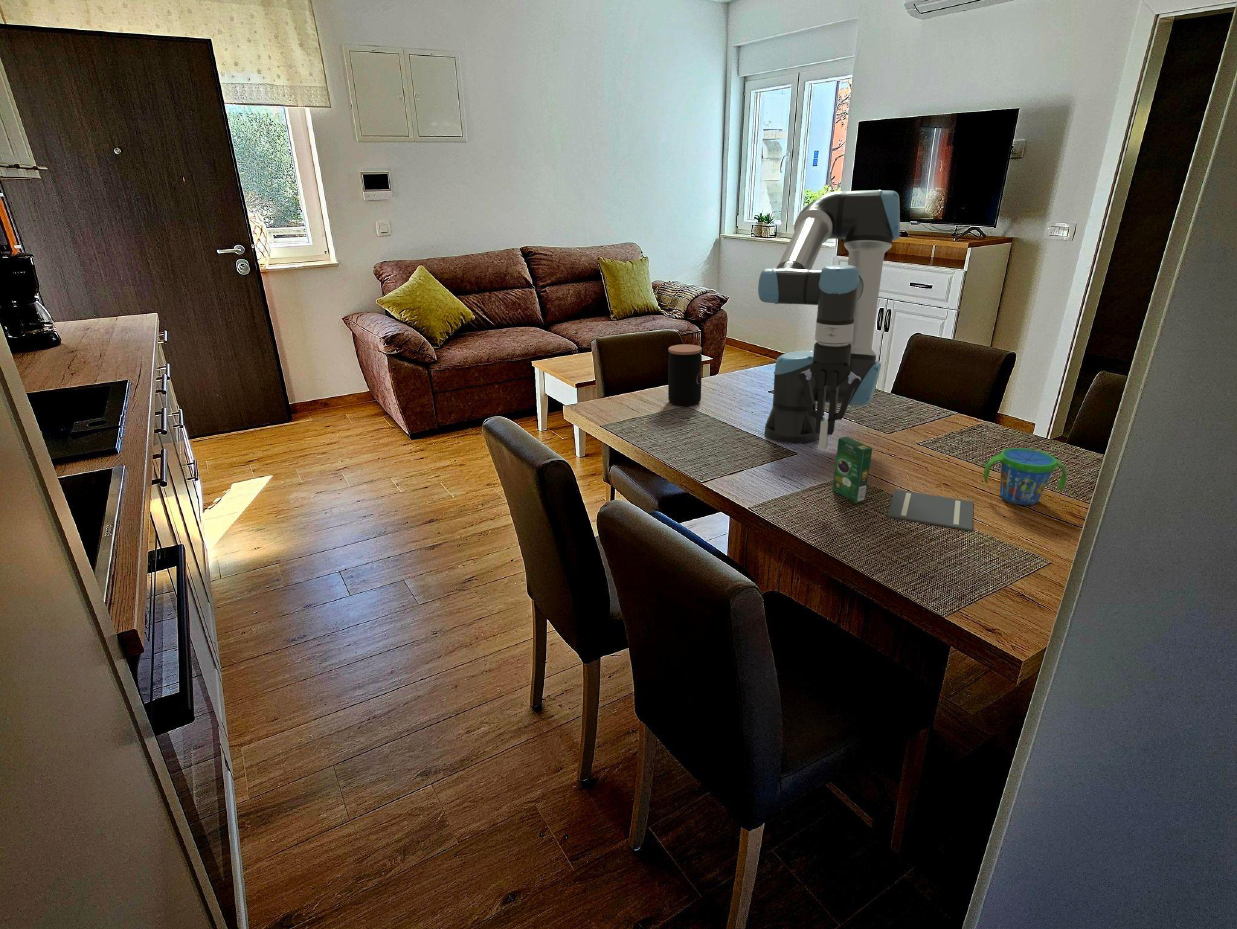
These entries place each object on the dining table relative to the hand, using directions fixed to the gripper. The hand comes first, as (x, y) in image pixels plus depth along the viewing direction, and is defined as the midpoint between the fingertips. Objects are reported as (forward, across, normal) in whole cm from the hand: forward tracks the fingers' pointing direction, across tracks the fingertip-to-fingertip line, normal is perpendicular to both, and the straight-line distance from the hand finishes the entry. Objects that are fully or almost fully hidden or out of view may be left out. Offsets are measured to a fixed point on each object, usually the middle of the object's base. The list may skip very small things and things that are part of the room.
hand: (823, 447), depth 150 cm
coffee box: (+11, +7, 0) cm, 13 cm away
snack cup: (+11, +40, +14) cm, 44 cm away
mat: (+11, +24, 0) cm, 26 cm away
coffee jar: (+11, -54, +52) cm, 75 cm away
